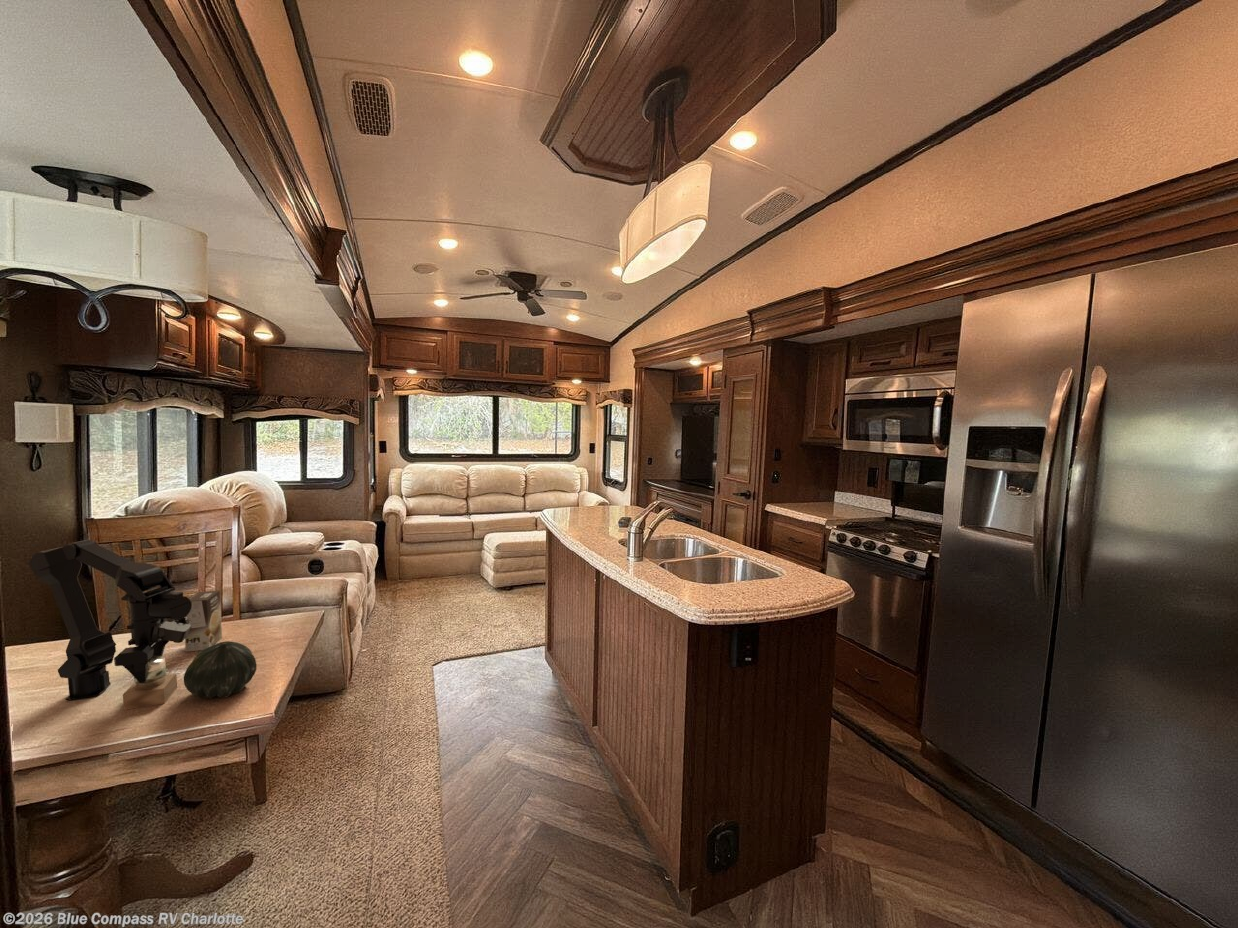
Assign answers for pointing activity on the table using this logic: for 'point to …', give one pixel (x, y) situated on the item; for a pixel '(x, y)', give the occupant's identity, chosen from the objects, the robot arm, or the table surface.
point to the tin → (153, 674)
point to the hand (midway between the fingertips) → (149, 674)
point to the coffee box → (204, 621)
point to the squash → (220, 670)
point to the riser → (150, 694)
